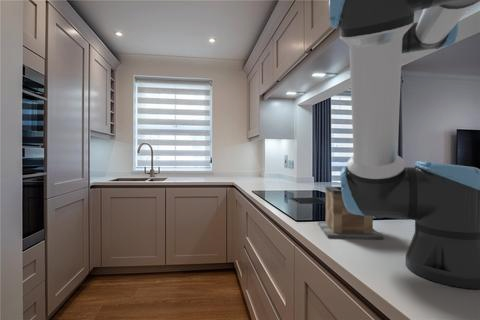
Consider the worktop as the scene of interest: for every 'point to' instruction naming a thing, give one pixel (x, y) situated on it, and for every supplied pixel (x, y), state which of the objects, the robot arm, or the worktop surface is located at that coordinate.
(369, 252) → the worktop surface
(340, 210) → the tan stepped shape
